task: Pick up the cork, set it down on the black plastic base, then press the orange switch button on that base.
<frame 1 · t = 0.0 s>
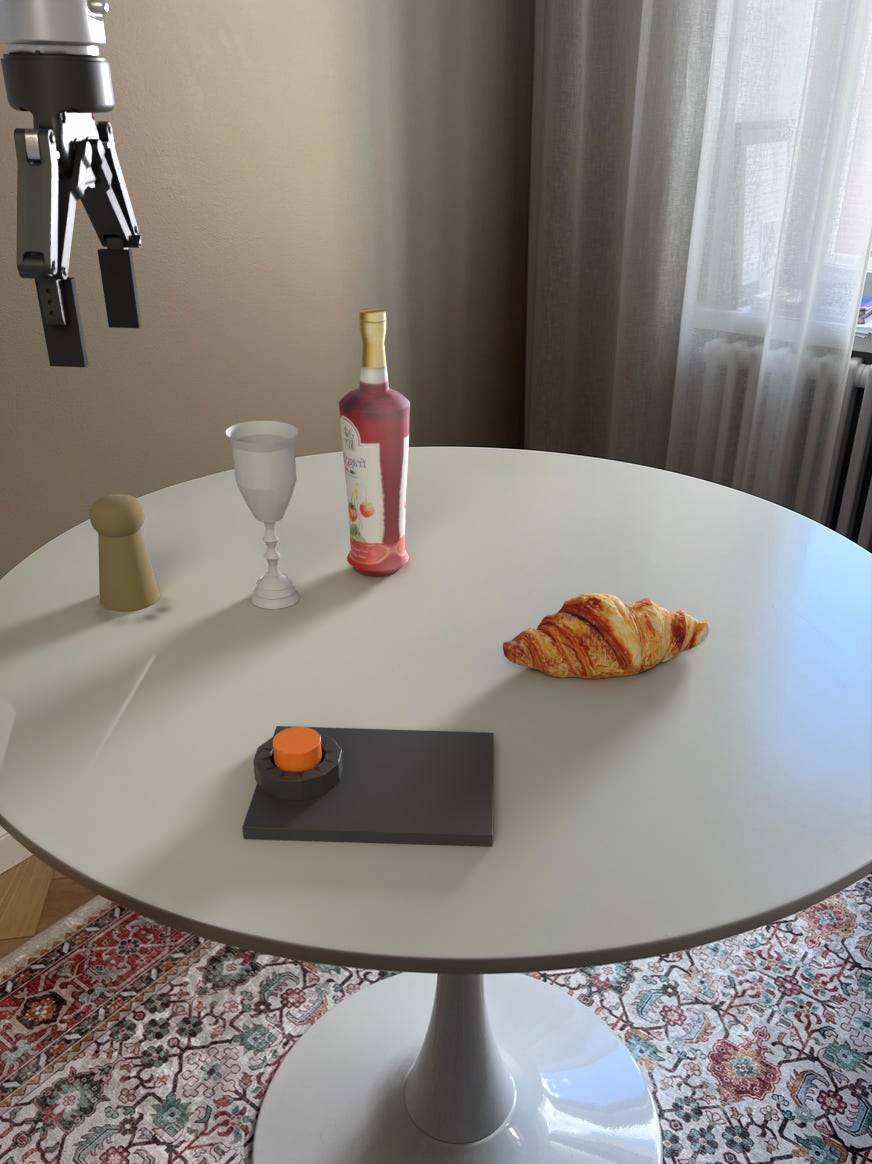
hand: (99, 345, 85), 28 cm above the table, tool pointing down, fingers open, 13 cm apart
chalice: (275, 599, 108), on the table
switch: (297, 749, 78), point 4 cm above the table, slide at 0.1 cm
base: (377, 788, 80), on the table
croissant: (608, 662, 98), on the table
liquor: (378, 570, 115), on the table
cork: (130, 599, 107), on the table
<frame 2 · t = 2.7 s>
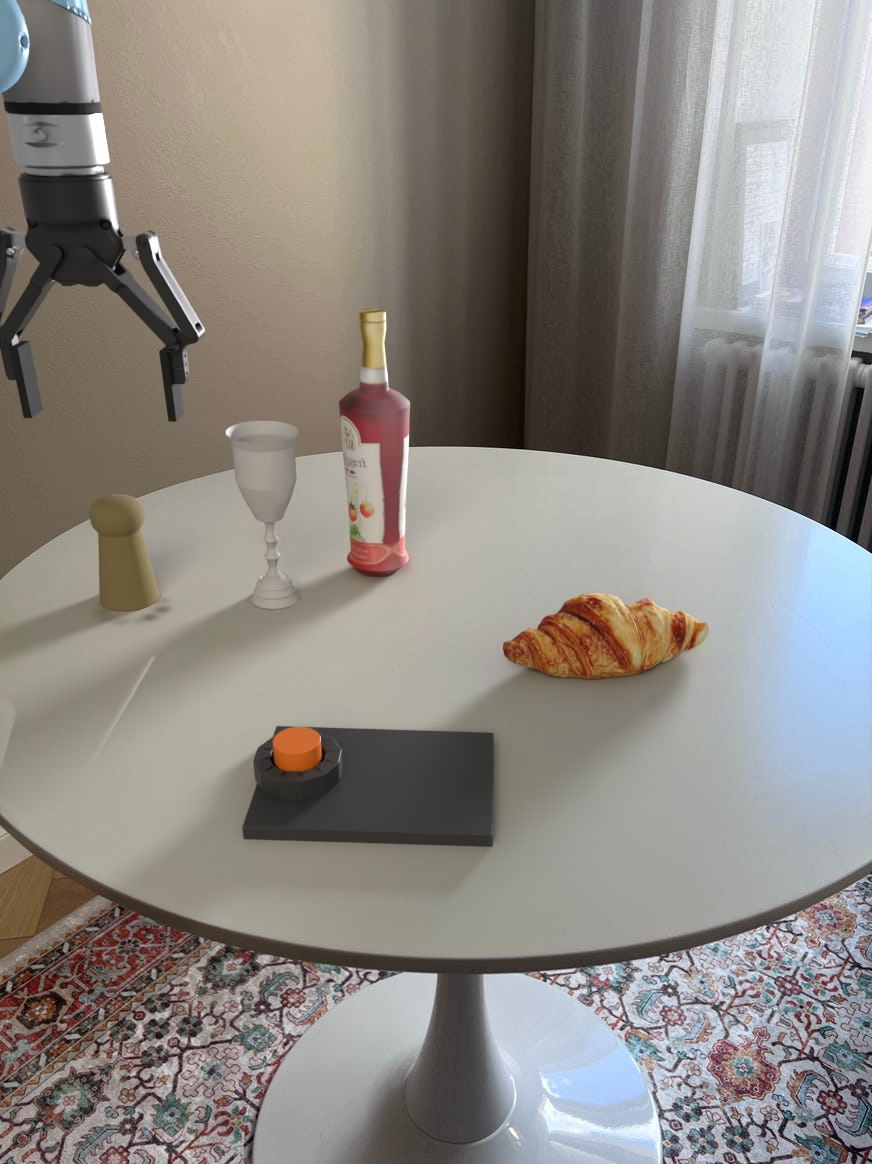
hand: (105, 416, 97), 19 cm above the table, tool pointing down, fingers open, 13 cm apart
nothing on the table moved.
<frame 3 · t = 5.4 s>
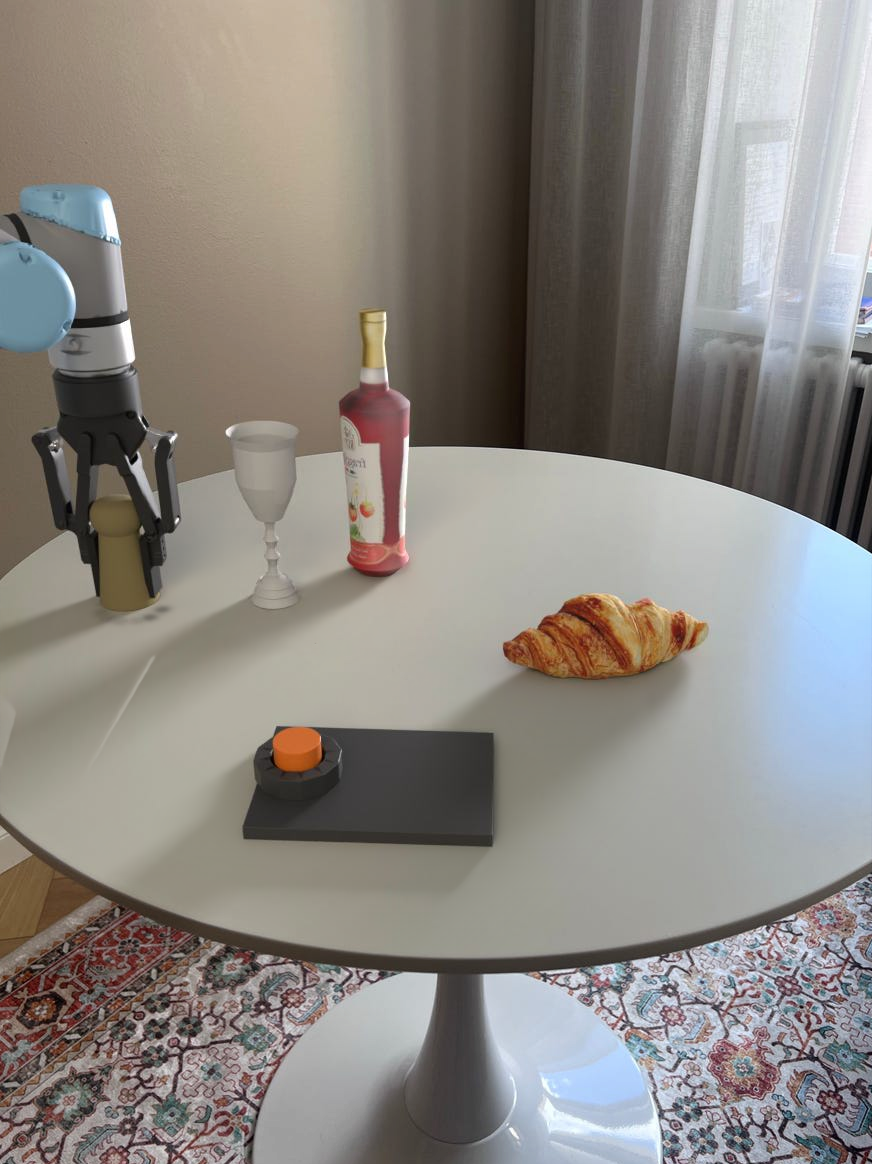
hand: (129, 591, 106), 1 cm above the table, tool pointing down, fingers closed on cork, 5 cm apart
cork: (130, 599, 107), on the table, touching gripper
everything else where it was.
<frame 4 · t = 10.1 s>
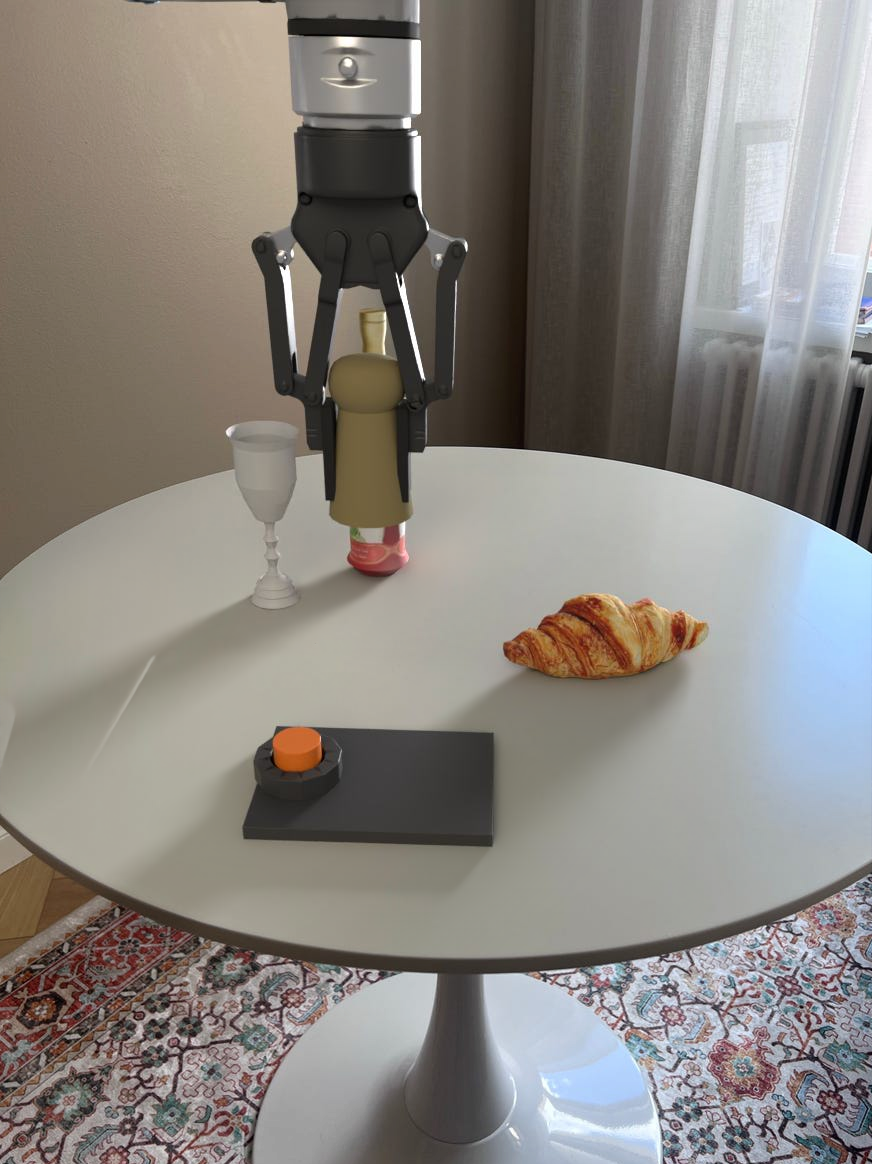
hand: (369, 493, 72), 23 cm above the table, tool pointing down, fingers closed on cork, 4 cm apart
cork: (371, 514, 73), point 21 cm above the table, touching gripper
everything else where it was.
when the fingers open (3 cm above the table, at t = 14.2 s): cork stays where it is, resting on base.
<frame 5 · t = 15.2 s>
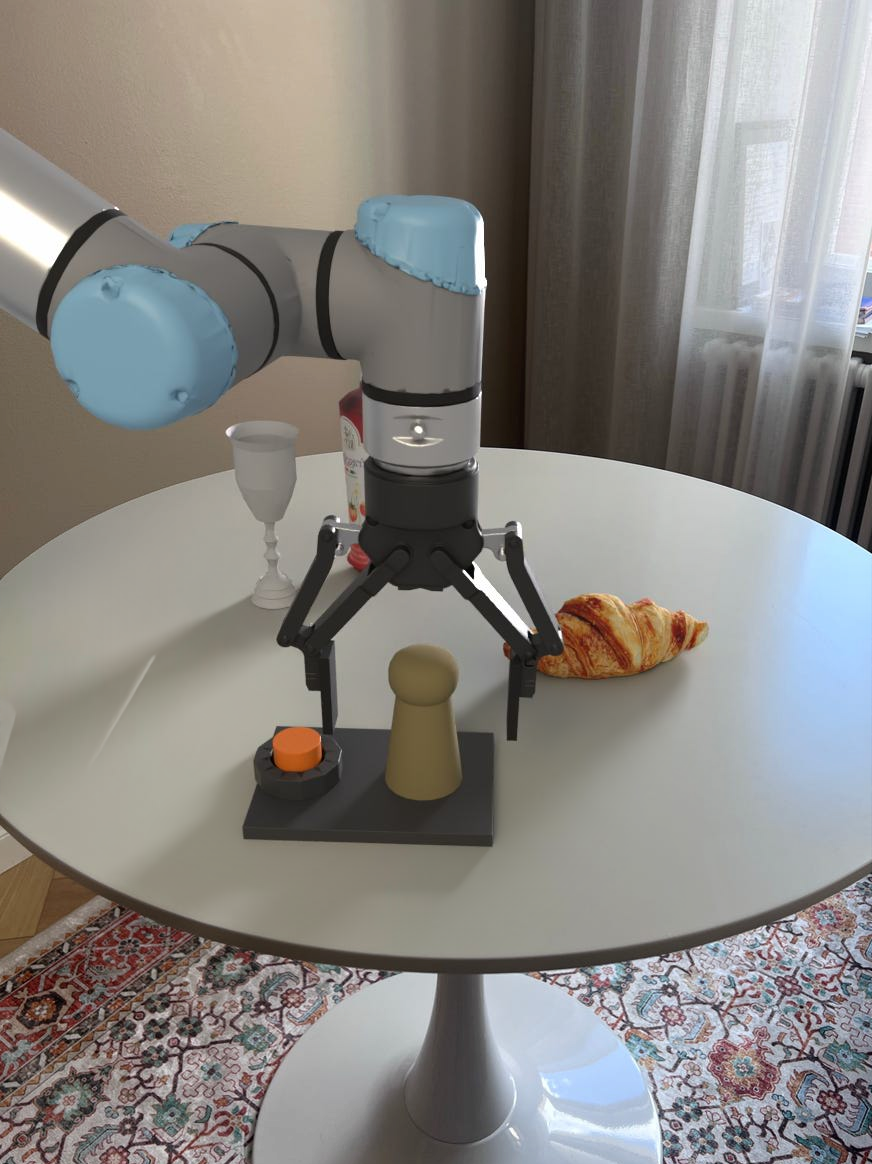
hand: (421, 728, 77), 6 cm above the table, tool pointing down, fingers open, 13 cm apart
cork: (423, 778, 79), point 1 cm above the table, touching base
everything else where it was.
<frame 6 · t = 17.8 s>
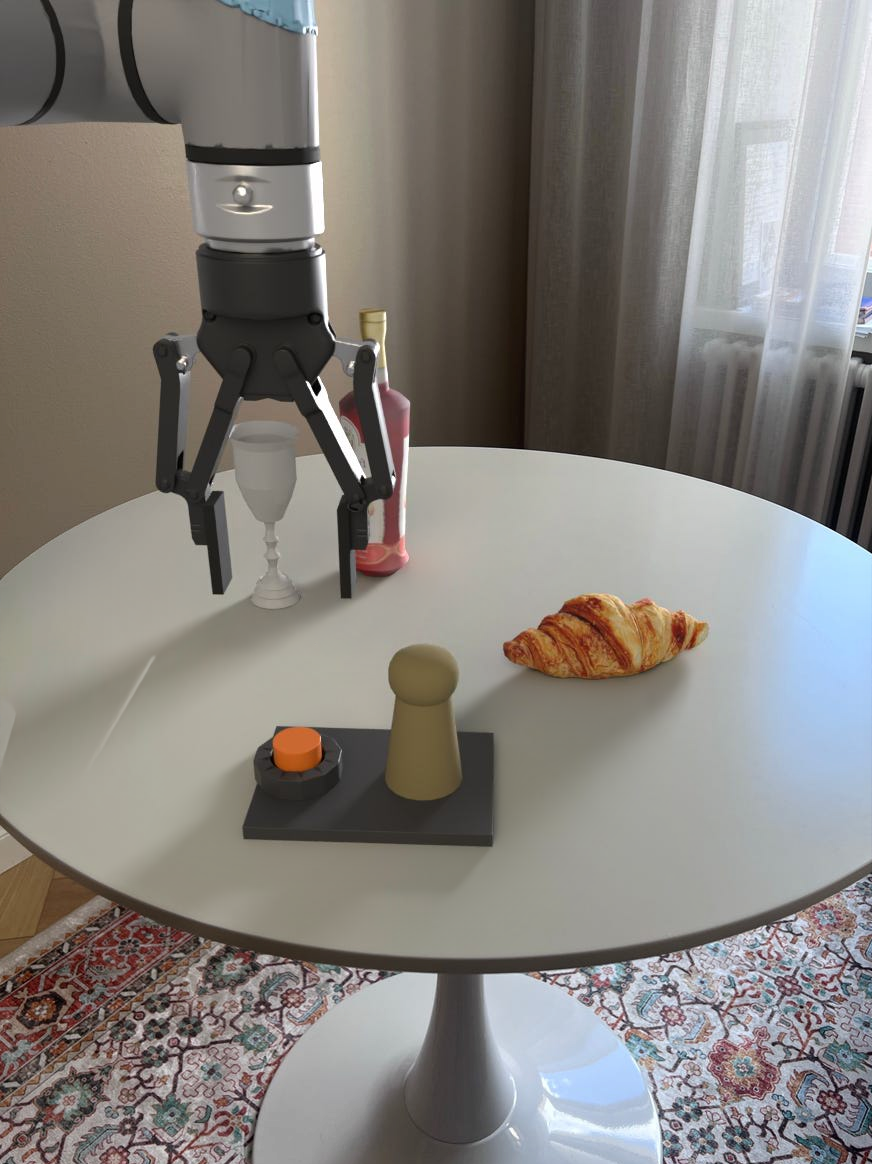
hand: (285, 587, 71), 17 cm above the table, tool pointing down, fingers open, 8 cm apart
nothing on the table moved.
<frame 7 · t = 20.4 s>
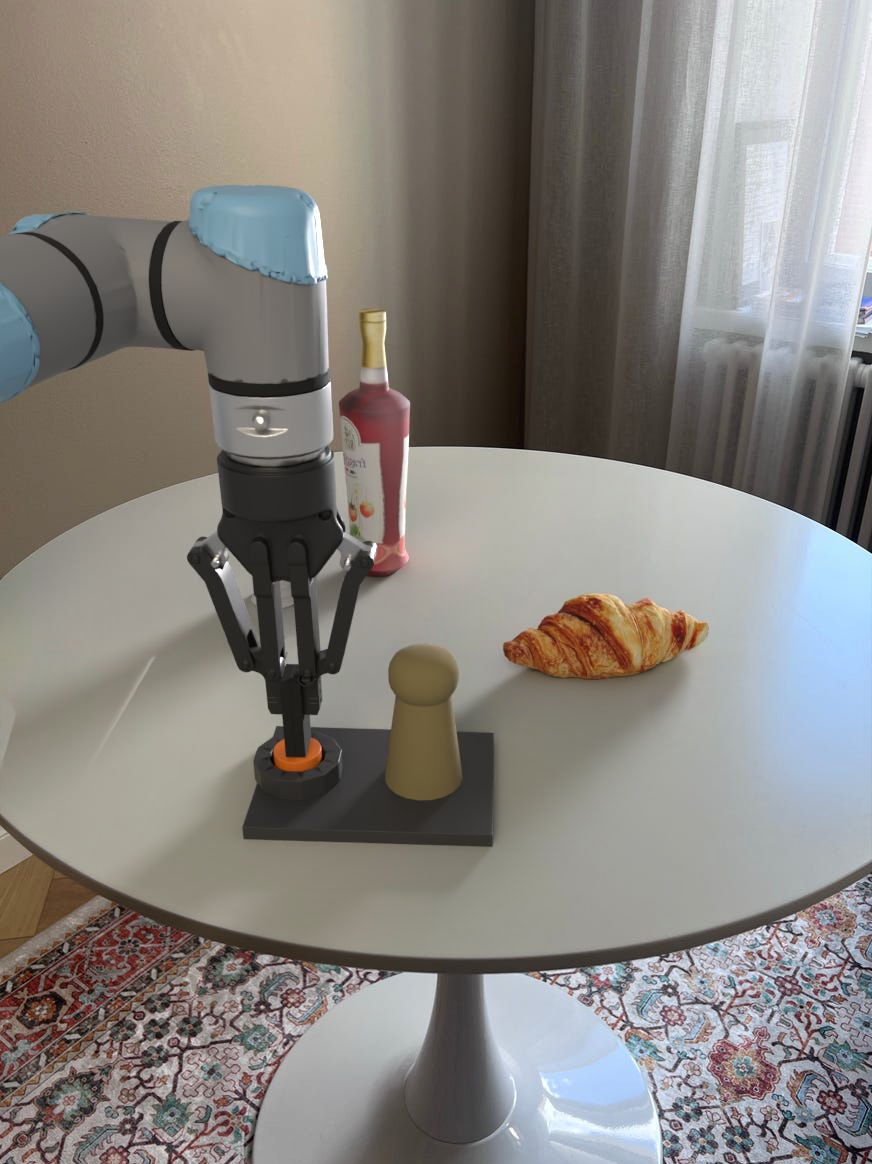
hand: (298, 746, 78), 4 cm above the table, tool pointing down, fingers closed
switch: (298, 758, 78), point 3 cm above the table, slide at -0.7 cm, touching gripper
everything else where it was.
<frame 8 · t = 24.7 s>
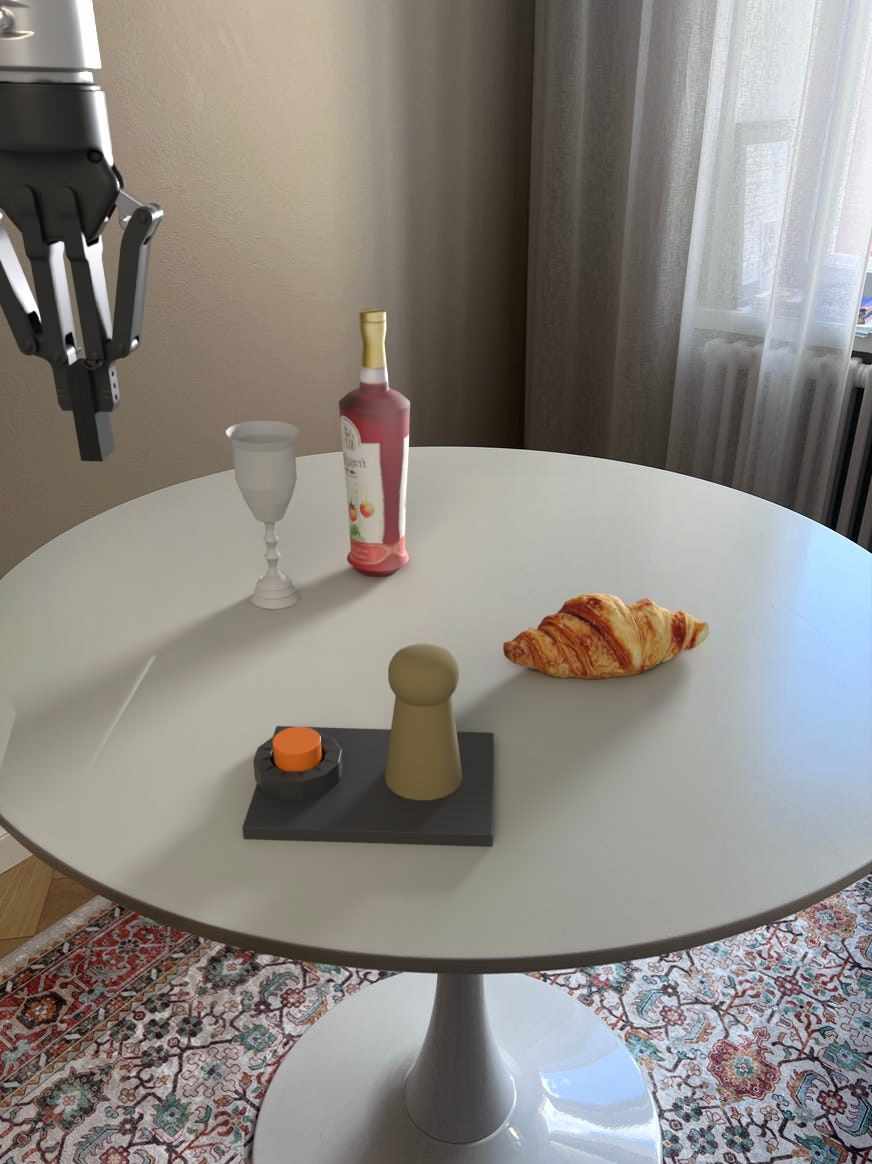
hand: (98, 454, 73), 24 cm above the table, tool pointing down, fingers closed
switch: (297, 749, 78), point 4 cm above the table, slide at 0.1 cm
everything else where it was.
at the end: cork inside the target area on the base (0.2 cm from its centre), point 1.0 cm above the base's base; cork tilted 0°; switch pushed in 0.8 cm at the most during the clip, back to where it started at the end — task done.
